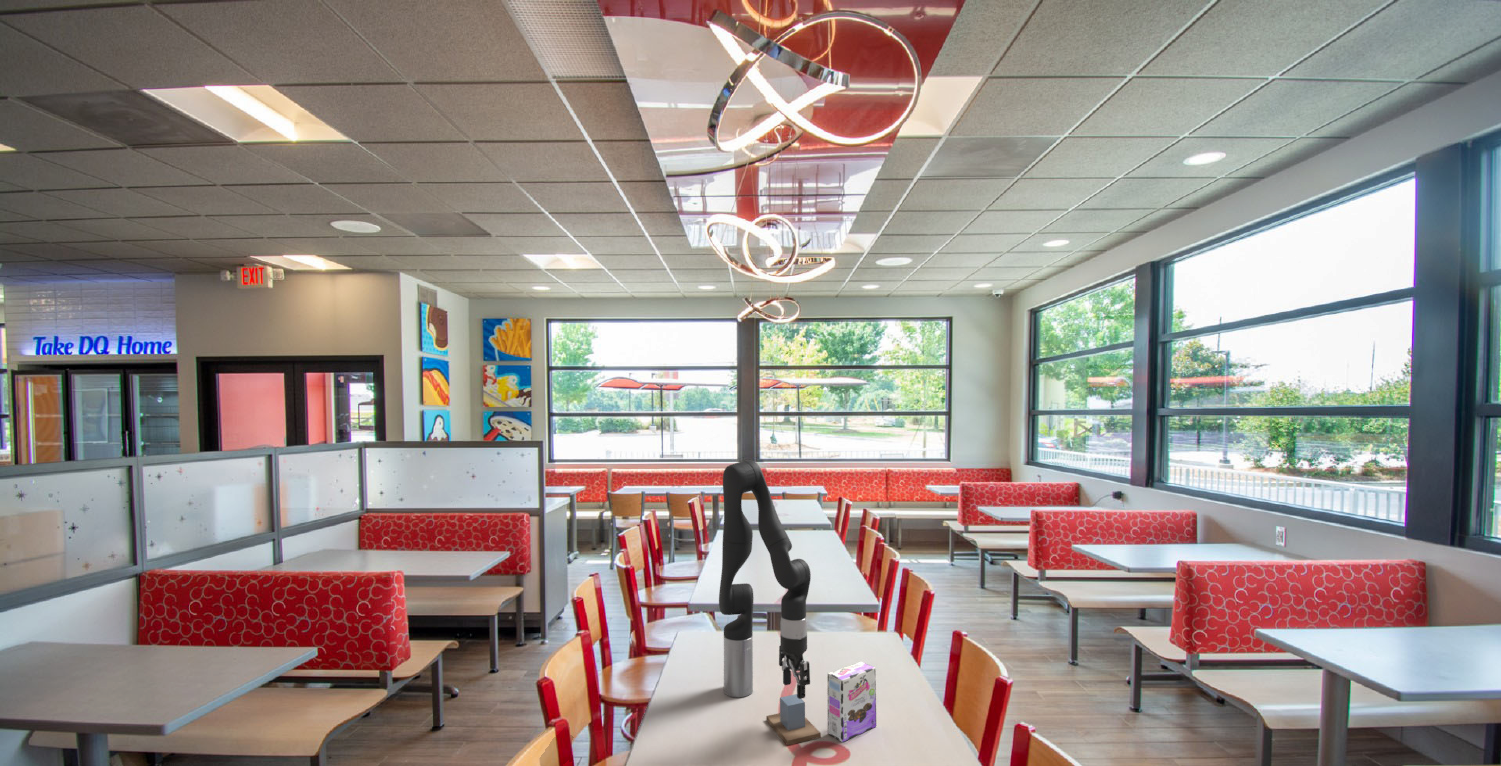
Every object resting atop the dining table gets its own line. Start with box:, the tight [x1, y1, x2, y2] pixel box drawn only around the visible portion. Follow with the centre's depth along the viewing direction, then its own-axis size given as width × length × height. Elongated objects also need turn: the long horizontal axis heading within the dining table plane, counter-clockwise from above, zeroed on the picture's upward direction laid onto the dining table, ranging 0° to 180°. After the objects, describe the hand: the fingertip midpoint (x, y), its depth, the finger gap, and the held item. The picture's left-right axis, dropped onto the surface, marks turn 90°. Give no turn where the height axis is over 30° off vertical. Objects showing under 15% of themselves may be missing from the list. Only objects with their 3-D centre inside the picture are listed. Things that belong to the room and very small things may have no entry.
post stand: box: [765, 712, 822, 746], centre depth 166 cm, size 14×10×7 cm
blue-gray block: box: [779, 693, 806, 731], centre depth 166 cm, size 5×5×7 cm
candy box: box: [827, 661, 877, 743], centre depth 165 cm, size 14×6×16 cm, turn 126°
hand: (794, 690), depth 167 cm, fingers open, 8 cm apart
